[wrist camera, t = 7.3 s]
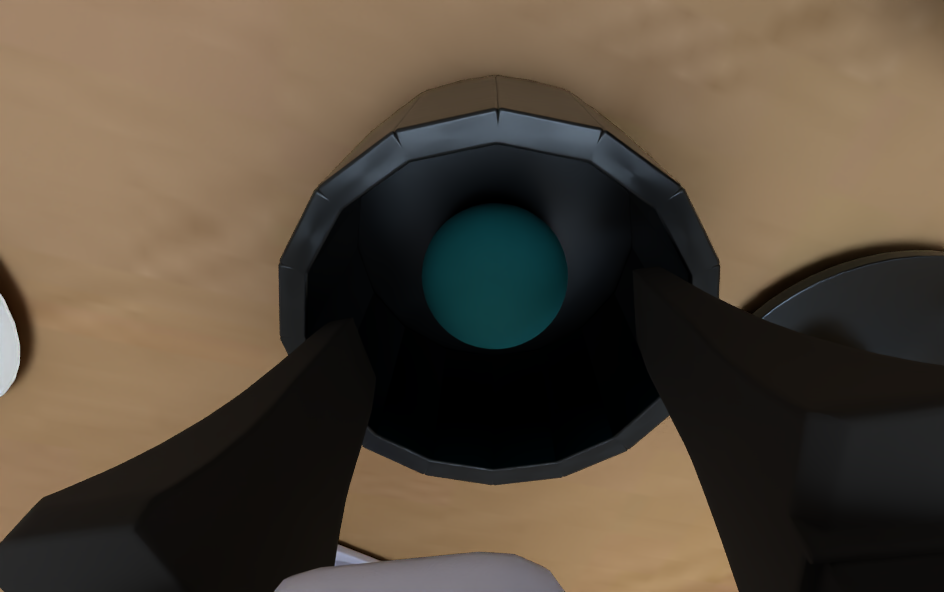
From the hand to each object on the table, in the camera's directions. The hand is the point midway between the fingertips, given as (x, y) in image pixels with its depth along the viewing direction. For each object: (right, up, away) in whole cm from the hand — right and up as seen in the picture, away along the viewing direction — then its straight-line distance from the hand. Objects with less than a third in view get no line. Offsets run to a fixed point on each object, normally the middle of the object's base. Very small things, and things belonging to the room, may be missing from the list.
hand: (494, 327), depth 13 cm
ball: (0, +1, +2) cm, 3 cm away
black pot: (0, +3, +5) cm, 5 cm away
